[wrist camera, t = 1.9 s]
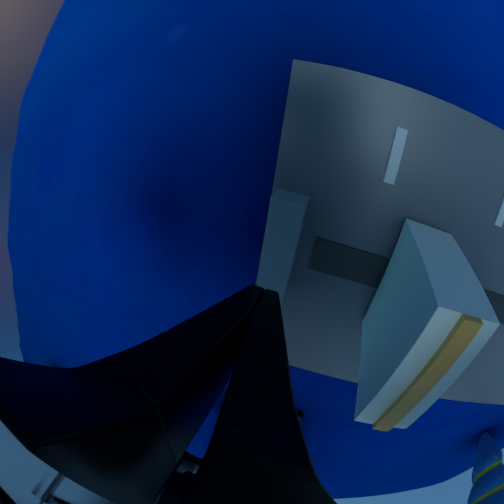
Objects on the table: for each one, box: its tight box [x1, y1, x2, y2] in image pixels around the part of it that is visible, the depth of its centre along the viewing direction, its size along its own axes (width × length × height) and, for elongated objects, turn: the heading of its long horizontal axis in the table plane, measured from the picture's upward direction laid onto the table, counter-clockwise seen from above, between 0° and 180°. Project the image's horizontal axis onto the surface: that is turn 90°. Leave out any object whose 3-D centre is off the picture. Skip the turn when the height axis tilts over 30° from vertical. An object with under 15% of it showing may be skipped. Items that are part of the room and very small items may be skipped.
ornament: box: [468, 432, 504, 504], centre depth 10 cm, size 5×5×15 cm
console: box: [256, 59, 504, 405], centre depth 10 cm, size 14×24×3 cm, turn 82°
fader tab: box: [354, 219, 500, 431], centre depth 8 cm, size 5×2×5 cm, turn 172°
